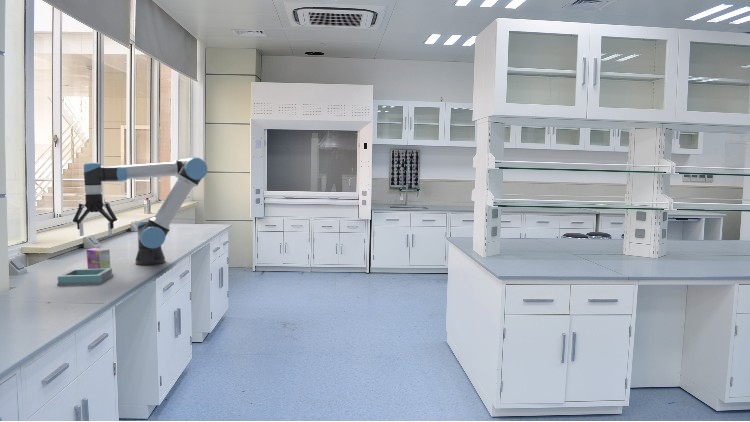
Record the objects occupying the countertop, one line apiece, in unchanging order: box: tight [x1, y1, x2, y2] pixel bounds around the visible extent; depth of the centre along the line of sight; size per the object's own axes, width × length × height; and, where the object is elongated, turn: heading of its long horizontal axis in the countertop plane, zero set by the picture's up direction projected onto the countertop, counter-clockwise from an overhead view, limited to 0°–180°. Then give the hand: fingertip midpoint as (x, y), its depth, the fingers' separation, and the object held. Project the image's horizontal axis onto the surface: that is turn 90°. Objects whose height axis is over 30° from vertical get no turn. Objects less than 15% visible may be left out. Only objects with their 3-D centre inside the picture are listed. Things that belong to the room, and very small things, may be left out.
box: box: [85, 247, 111, 269], centre depth 266 cm, size 10×6×12 cm, turn 62°
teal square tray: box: [56, 267, 114, 287], centre depth 248 cm, size 18×18×4 cm
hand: (96, 235), depth 265 cm, fingers open, 13 cm apart
